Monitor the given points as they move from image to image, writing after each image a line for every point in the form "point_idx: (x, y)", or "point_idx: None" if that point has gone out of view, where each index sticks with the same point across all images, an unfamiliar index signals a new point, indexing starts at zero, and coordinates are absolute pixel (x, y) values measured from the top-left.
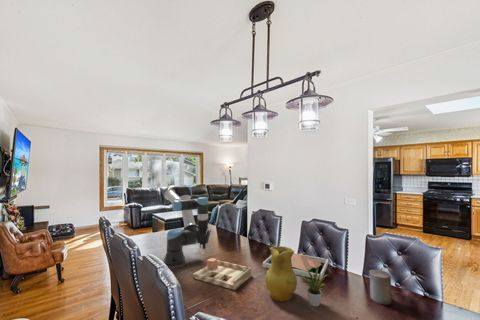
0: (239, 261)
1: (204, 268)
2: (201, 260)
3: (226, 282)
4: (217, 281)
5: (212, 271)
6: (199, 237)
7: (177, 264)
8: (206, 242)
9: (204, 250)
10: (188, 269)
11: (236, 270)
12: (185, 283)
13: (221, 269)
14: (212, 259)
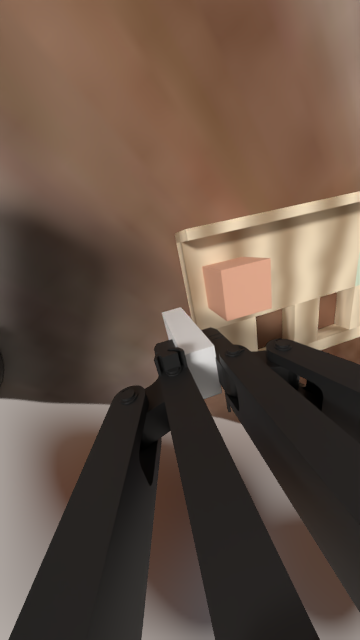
0: (265, 7)
1: (206, 322)
2: (30, 212)
3: (351, 334)
4: (318, 349)
5: (259, 314)
6: (137, 504)
7: (3, 373)
8: (306, 385)
9: (187, 317)
10: (113, 354)
11: (348, 220)
12: (214, 413)
13: (282, 267)
14: (248, 286)
